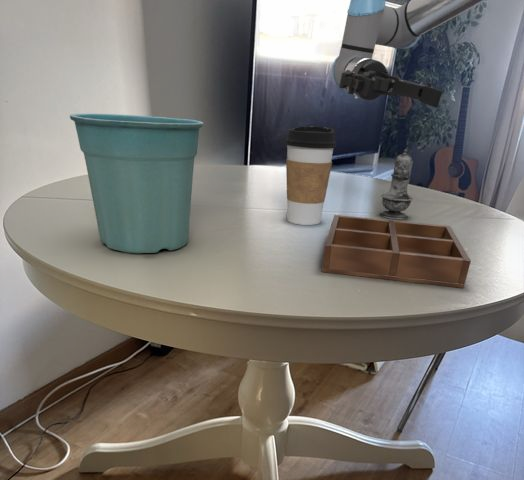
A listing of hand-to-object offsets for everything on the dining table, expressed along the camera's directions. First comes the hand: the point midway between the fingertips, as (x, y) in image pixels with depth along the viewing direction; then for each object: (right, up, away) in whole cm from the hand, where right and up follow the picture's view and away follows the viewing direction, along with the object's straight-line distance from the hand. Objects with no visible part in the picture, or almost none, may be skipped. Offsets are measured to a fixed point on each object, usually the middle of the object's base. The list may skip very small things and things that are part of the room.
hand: (405, 94), depth 87 cm
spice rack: (-8, -34, -20) cm, 40 cm away
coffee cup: (-19, -24, -3) cm, 31 cm away
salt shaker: (-1, -21, +4) cm, 22 cm away
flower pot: (-43, -31, -19) cm, 56 cm away
